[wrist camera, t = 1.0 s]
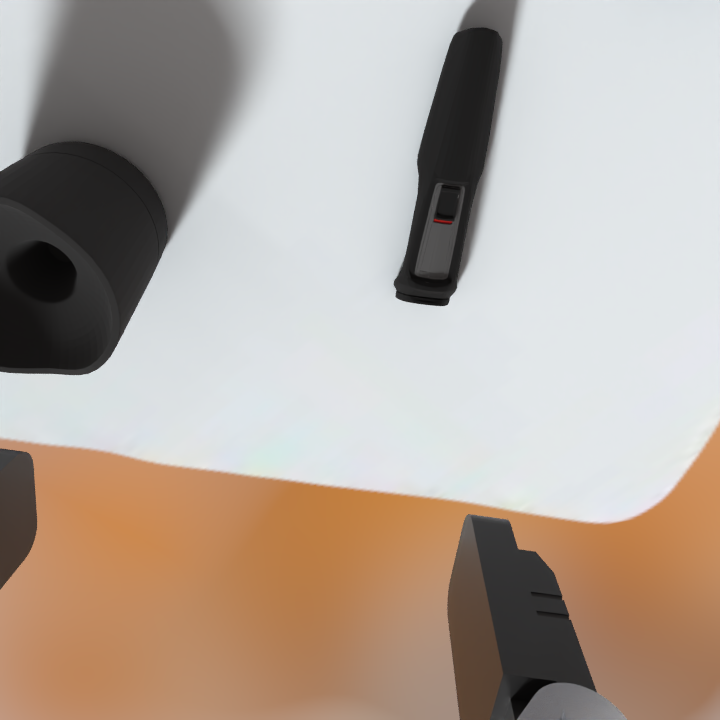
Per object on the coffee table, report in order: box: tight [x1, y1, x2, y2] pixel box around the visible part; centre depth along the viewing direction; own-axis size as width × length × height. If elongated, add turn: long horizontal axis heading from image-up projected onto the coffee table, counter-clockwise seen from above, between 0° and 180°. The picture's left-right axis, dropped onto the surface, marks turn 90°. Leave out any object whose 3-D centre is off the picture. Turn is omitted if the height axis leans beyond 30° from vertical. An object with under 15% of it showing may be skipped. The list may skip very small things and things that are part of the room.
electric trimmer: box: [394, 28, 502, 306], centre depth 34 cm, size 4×16×3 cm, turn 172°
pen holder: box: [0, 142, 167, 375], centre depth 33 cm, size 9×9×10 cm
